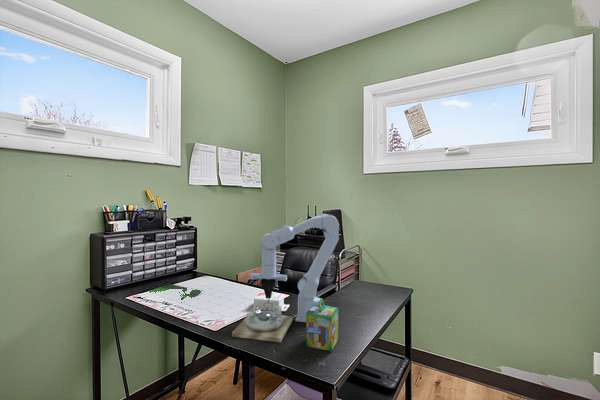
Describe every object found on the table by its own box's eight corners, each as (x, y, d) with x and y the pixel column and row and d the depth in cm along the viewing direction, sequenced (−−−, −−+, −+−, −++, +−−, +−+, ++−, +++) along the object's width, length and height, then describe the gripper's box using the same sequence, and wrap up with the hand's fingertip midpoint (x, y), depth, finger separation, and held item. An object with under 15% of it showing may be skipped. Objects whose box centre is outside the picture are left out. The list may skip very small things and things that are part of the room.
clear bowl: (287, 317, 113) (287, 305, 113) (276, 333, 100) (277, 319, 100) (253, 314, 116) (254, 302, 116) (239, 329, 102) (239, 315, 102)
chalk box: (331, 353, 91) (332, 307, 91) (305, 346, 95) (305, 302, 95) (339, 339, 100) (339, 297, 100) (314, 334, 103) (315, 294, 103)
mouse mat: (207, 292, 148) (207, 290, 148) (174, 306, 128) (174, 304, 128) (168, 285, 159) (168, 283, 159) (132, 298, 139) (132, 295, 139)
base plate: (292, 320, 115) (293, 316, 115) (280, 342, 97) (280, 337, 97) (251, 315, 119) (251, 312, 119) (232, 336, 101) (232, 331, 101)
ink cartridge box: (260, 292, 134) (290, 294, 131) (260, 302, 134) (290, 305, 131) (253, 298, 125) (285, 301, 122) (253, 309, 125) (285, 312, 122)
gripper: (288, 262, 117) (288, 295, 117) (254, 260, 119) (253, 293, 119) (285, 266, 110) (285, 301, 110) (249, 264, 112) (248, 299, 112)
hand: (268, 297), depth 114 cm, fingers closed
